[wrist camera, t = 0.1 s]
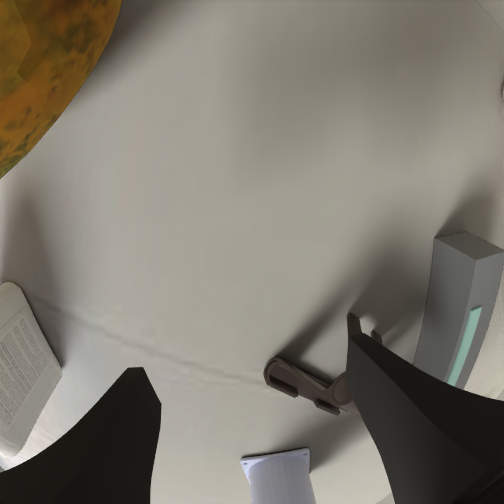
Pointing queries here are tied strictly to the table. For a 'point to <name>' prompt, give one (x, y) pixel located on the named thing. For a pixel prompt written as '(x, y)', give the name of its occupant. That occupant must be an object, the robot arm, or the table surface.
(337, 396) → the portable electronic device stand
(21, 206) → the table surface
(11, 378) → the white labeled box
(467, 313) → the charging dock
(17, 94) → the pumpkin
